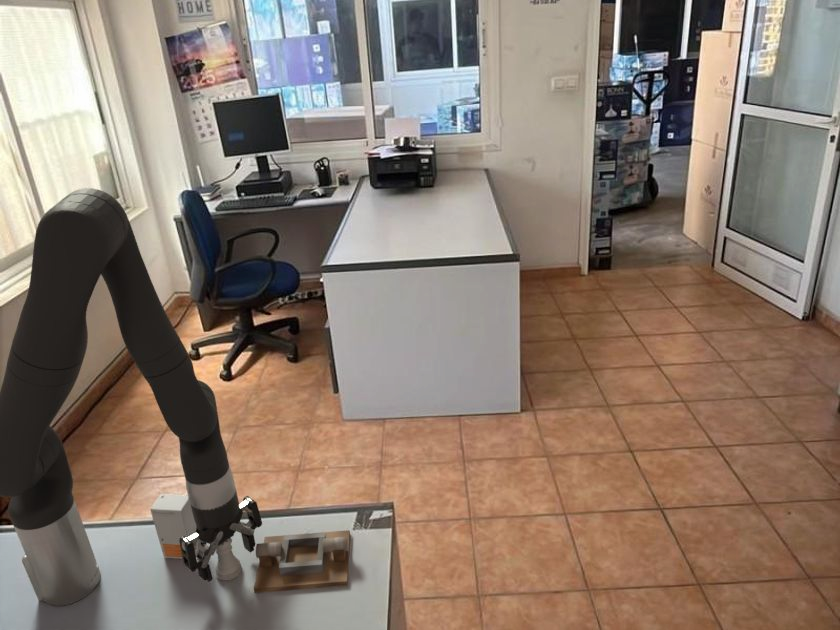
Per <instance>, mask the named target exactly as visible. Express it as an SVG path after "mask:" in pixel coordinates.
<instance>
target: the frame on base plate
mask: <svg viewBox="0 0 840 630" xmlns="http://www.w3.org/2000/svg"><path fill="white" fill-rule="evenodd" d="M350 543H351V531H350V529H349V530H348V529H347V530H337V531H334V530H333V531H325V532H324V531H323V532H311V533H297V534H287V535H284V534H283V535H274V536H273V535H270V536H264V539H263V543H256V544H255V557H256V559H258V560H259V562H258V567H257V572H256V577H255V581H254V585H253V592H254V593H255V594H257V593H268V592H269V593H270V592H280V591H294V590H306V589H319V588H320V589H321V588H329V587H342V586H343V587H345V586H348V584H349V583H348V580H349V565H350V564H349V563H350V562H349V561H350V547H351V545H350Z"/></svg>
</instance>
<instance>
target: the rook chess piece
mask: <svg viewBox="0 0 840 630" xmlns="http://www.w3.org/2000/svg"><path fill="white" fill-rule="evenodd" d="M232 542H233V539H232V537H231V538H229V539H226V540H225V541H224V542H223V543H222V544H220V545H219V546H217V548H216V551H215V553H216V555H217V562H216V565H215V574H216V575H215V576H216V577H217V578H218V579H219V580H222V581H230V580H234V579H235V578H237V576H238V575H239V574H240V573H241V571H242V564H241V560H240V559H239V558H238V557H237V556H236V555H234V553H233V551H232V550H233V545H232Z"/></svg>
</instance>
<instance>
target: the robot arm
mask: <svg viewBox="0 0 840 630" xmlns="http://www.w3.org/2000/svg"><path fill="white" fill-rule="evenodd" d="M134 233H135V232H134V231H133V228H132V225H131V223H130V220H129V217H128V215H127V213H126V211H125V209H124V208H123V206H122V205H121V203H120V202H119V201H118V200H117V199H116V198H114V196H112V195H111V194H109V193H108V192H106V191H103V190H100V189H97V188H92V187H88V188H87V187H84V188H79V189H76V190H73V191H72V192H69V194H67V195H66V196H64V197H63V198H61V199H60V201H59V202H57V203H56V204H54V206H52V207H51V208H49V209H48V210H47V211H46V212H45V213H44V214H43V216H42V217H41V218H40V220H39V222H38V224H37V227H36V231H35V235H34V241H33V242H34V243H33V249H32V250H33V253H32V262H31V272H30V280H29V287H28V291H27V295H26V298H25V301H24V304H23V306H22V309H21V312H20V315H19V319H18V322H17V326H16V330H15V332H14V335H13V338H12V342H11V344H10V345H11V347H10V348H9V349H10V350H9V353H8V357H7V362H6V367H5V372H4V377H3V378H2V383H1V387H0V497H1V498H10V501H9V503H8V508H7V512H8V517H9V519H10V521H11V524H12V526H13V527H14V530H15V533H16V535H17V537H18V539H19V542H20V544H21V547H22V549H23V551H24V555H23V557H22V559H21V563H22V565H23V567H24V569H25V572H26V574H27V577H28V578H29V582H30V584H31V586H32V589H33V591H34V593H35V595H36V598H37V601H44V602H46V603H47V604H48V605H51V606H57V607H61V606H66V605H71V604H74V603H76V602H78V601H80V600H83V599H84V598H85V597H86V596H88V595H89V594H90V593H91V592H93V590H94V589H95V588H96V587H97V585H98V584H99V581H100V579H101V572H100V568H99V564H98V563H97V559H96V556H95V553H94V551H93V548H92V544H91V542H90V539H89V536H88V534H87V531H86V529H85V525H84V523H83V520H82V517H81V515H80V512H79V510H78V506H77V504H76V501H75V499H74V498H75V497H74V495H73V487H74V486H73V485H74V479H73V475H72V471H71V468H70V464H69V460H68V457H67V456H68V455H67V453H66V450H65V447H64V444H63V441H62V439H61V438H60V436H59V434H58V433H57V432H56V430H55V429H54V428H53V427H52V426H51V424H52V422H53V420H54V419H55V417H56V416H57V415H58V413H59V412H60V410H61V409H62V408H63V405H64V403H65V402H66V400H67V399H68V397H69V395H70V394H71V392H72V390H73V388H74V387H75V384H76V382H77V380H78V377H79V374H80V372H81V369H82V367H83V366H82V365H83V363H84V360H85V356H86V352H87V349H88V340H89V339H88V338H89V332H88V324H87V311H88V306H89V303H90V300H91V297H92V295H93V293H94V290H95V288H96V285H97V283H98V281H99V280H100V277H102V279H103V280H104V283H105V284H106V287H107V289H108V292H109V296H110V298H111V300H112V304H113V307H114V311H115V314H116V315H115V316H116V319H117V323H118V327H119V331H120V334H121V337H122V341H123V342H124V345H125V348H126V349H127V351H128V353H129V355H130V357H131V359H132V360H133V361H134V364H135V365H136V367H137V369H138V370H139V372H140V373H141V375H142V376H143V378H144V379H145V381H146V382H147V384H148V385H149V387H150V389H151V391H152V394H153V396H154V400H155V401H156V404H157V406H158V408H159V410H160V413H161V415H162V417H163V419H164V421H165V423H166V425H167V426H168V428H169V430H170V431H171V432H172V433H173V434H174V435H175V436H176V437H177V438H178V442H179V457H180V462H181V467H182V470H183V474H184V478H185V487H186V489H185V490H186V493H187V495H188V500H189V501H190V505H191V509H192V513H193V517H194V520H195V523H196V531H195V534H193V535H191V536H190V537H188V538H187V537H185V536H182V537H181V538H180V540H179V542H180V547H181V553H182V558H183V559H182V562H183V565H184V566H185V567H186V568H187V569H188V570H190V572H191V573H192V572H193V573H194V572H196V571H197V572H198V577H200V578H201V579H202V580H203V581H204V582H206V581H207V582H208V583H209V582H211V581H212V580H214V578H213V575H212V571H211V567H210V564H209V562H210V560H211V558H212V556H215V553H216V548H217V546H219V545H220V544H222V543H223V542H224V541H225V540H226V539H229V538H231V539H232V537H234V536H235V533H236V532H237V533H240V534H241V540H242V543H243V547H244V549H245V550H246V551H248V552H249V553H252V552H254V551H255V549H254V548H255V547H256V540H255V535H254V533H255V530H256V529H257V528H260V527H261V526H262V525H263V521H262V518H261V514H260V510H259V506H258V503H257V501H256V500H255V499H253V498H252V497H250V496H249V495H245V496H244V497H243V499H242V502H241V503H240V502H239V497H238V493H237V492H238V491H237V487H236V483H235V479H234V474H233V472H232V469H231V467H230V463H229V458H228V455H227V450H226V446H225V443H224V439H223V437H222V433H221V427H220V421H219V414H218V413H219V412H218V407H217V401H216V396H215V394H214V393H215V392H214V391H213V390H212V388H211V387H210V386H209V385H208V384H207V383H205V382H204V381H202V380H200V379H198V378H197V376H196V374H195V369H194V365H193V361H192V358H191V356H190V354H189V352H188V351H187V349H186V347H185V345H184V343H183V342H182V340H181V338H180V336H179V335H178V332H177V331H176V330H175V329H176V328H175V327H174V326H173V324H172V321H171V320H170V318H169V315H168V314H167V313H166V311H165V308H164V306H163V304H162V301H160V298H159V296H158V294H157V291H156V289H155V286H154V284H153V281H152V279H151V276H150V274H149V271H148V269H147V267H146V264H145V261H144V258H143V256H142V254H141V250H140V248H139V245H138V243H137V239H136V236H135V234H134ZM244 512H245V513H246V515H247V519H248V521H247V522H246V523H245V522H243V521H241V520H242V517H243V514H244ZM198 540H199V542H198V545H197V547H198V550H197V552H196V555H195V549H196V548H197V547H196V544H197V541H198Z"/></svg>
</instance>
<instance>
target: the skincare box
mask: <svg viewBox="0 0 840 630" xmlns="http://www.w3.org/2000/svg"><path fill="white" fill-rule="evenodd" d="M150 514H151V516H152V520H153V524H154V528H155V531H156V535H157V537H158V541H159V544H160V548H161V552H162V555H163V558H165V559H180V560H183V558H182V553H181V547H180V542H179V540H180V538H181V537H182V536H185V537H187V538H188V537H190V536H191V535H193V534H195V531H196V523H195V520H194V517H193V513H192V509H191V505H190V501H189V500H188V494H187V495H186V494H184V495H183V494H177V493H175V494H174V493H173V494H171V493H170V494H169V493H160V494H159V496H158V497H157V499H156V500H155V502H154V503H153V505H151V507H150ZM198 542H199V540H198V541H197V544H196V547H197V545H198ZM197 550H198V547H197V548H196V549H195V555H196V552H197Z"/></svg>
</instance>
